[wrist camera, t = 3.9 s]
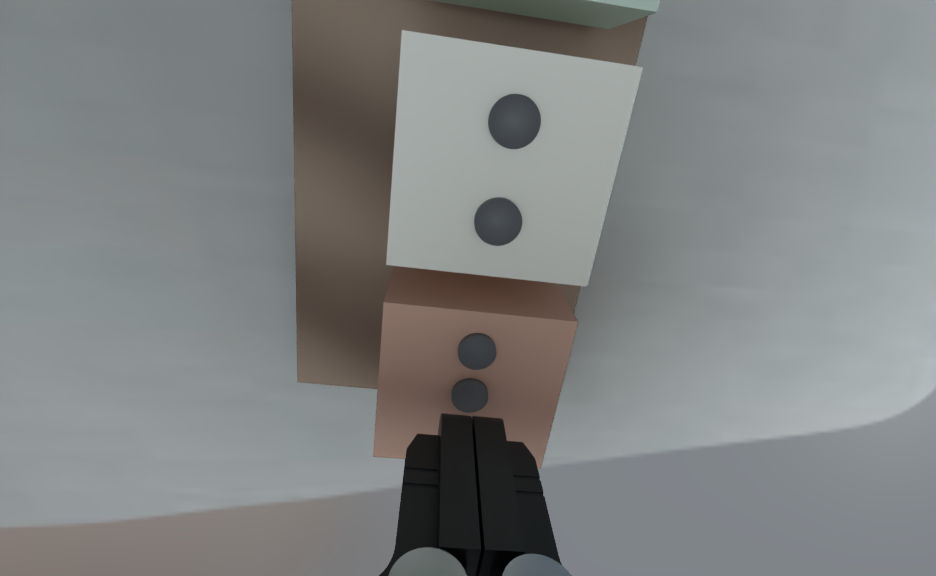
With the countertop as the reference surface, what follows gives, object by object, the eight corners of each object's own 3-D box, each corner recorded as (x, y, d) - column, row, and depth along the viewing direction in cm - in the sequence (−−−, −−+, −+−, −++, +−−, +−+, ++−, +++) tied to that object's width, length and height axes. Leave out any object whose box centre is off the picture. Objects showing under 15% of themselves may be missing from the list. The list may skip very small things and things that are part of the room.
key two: (412, 43, 12) (401, 28, 9) (599, 71, 12) (647, 66, 9) (398, 229, 14) (385, 268, 11) (560, 248, 14) (589, 290, 11)
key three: (395, 260, 14) (382, 305, 11) (553, 277, 15) (580, 325, 12) (385, 393, 16) (372, 461, 13) (525, 405, 17) (542, 473, 14)
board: (302, -287, 11) (286, -326, 10) (686, -205, 12) (710, -234, 11) (306, 364, 19) (297, 382, 18) (545, 386, 20) (551, 403, 19)
